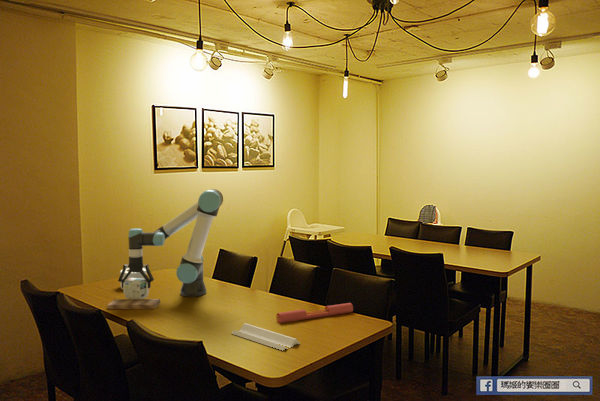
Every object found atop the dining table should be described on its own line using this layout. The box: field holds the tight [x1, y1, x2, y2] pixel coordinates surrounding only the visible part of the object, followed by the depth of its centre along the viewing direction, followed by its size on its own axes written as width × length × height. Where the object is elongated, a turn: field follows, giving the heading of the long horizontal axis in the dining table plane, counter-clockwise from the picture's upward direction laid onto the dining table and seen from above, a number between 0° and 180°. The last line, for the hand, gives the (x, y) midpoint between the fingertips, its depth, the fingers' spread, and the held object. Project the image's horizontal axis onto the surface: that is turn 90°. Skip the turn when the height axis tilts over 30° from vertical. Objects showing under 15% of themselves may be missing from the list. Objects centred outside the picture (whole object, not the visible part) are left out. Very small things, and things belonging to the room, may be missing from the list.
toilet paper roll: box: [119, 267, 147, 290], centre depth 303 cm, size 16×15×11 cm
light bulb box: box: [124, 278, 149, 299], centre depth 274 cm, size 11×7×11 cm, turn 71°
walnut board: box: [107, 298, 161, 310], centre depth 263 cm, size 25×11×2 cm, turn 92°
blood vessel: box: [276, 302, 354, 324], centre depth 247 cm, size 42×5×5 cm, turn 116°
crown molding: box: [231, 322, 301, 352], centre depth 216 cm, size 31×12×4 cm, turn 51°
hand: (136, 293), depth 275 cm, fingers closed on light bulb box, 12 cm apart
